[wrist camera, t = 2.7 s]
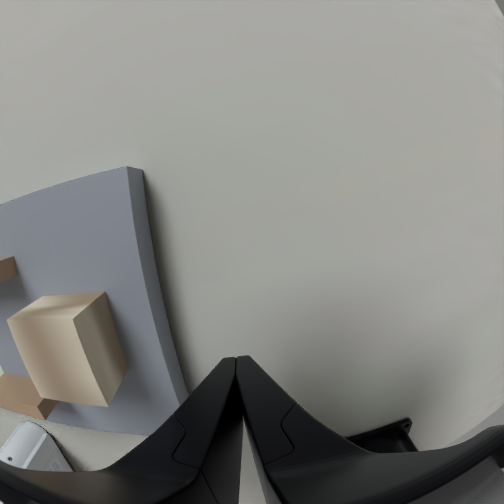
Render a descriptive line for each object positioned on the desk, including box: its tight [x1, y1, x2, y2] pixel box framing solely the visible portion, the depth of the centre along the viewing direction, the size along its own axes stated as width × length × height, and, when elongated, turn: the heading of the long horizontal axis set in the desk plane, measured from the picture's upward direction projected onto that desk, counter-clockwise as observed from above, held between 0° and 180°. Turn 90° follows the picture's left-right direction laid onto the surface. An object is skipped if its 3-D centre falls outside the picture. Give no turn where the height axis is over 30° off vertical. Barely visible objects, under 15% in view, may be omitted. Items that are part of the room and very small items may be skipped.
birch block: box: [7, 291, 129, 407], centre depth 10 cm, size 4×4×3 cm
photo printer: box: [0, 422, 73, 504], centre depth 10 cm, size 10×4×12 cm, turn 179°
